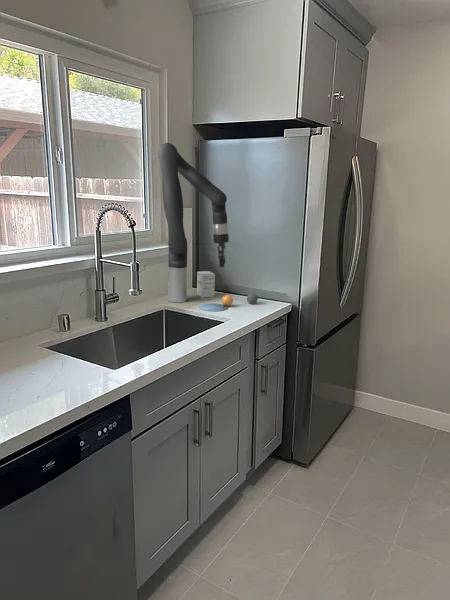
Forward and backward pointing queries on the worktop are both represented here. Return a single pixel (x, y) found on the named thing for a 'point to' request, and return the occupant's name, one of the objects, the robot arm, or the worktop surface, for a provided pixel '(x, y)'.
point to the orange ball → (227, 300)
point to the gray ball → (252, 298)
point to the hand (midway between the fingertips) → (222, 265)
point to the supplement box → (205, 284)
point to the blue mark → (213, 307)
